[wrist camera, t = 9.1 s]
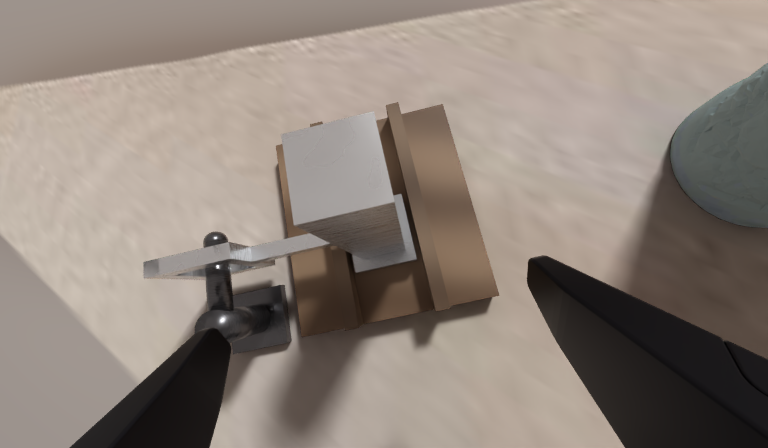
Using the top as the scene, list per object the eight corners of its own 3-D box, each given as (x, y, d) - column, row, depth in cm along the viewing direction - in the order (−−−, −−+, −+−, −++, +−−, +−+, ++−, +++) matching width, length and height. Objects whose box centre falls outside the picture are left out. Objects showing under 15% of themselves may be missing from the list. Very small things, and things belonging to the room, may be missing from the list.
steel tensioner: (416, 260, 17) (421, 224, 7) (213, 305, 18) (-59, 334, 7) (401, 198, 18) (386, 84, 8) (209, 243, 19) (-40, 194, 8)
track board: (493, 294, 18) (507, 296, 15) (308, 334, 18) (291, 341, 16) (440, 114, 20) (444, 90, 18) (283, 153, 21) (265, 135, 19)
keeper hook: (291, 340, 18) (249, 360, 14) (238, 351, 18) (179, 374, 14) (278, 236, 20) (236, 221, 15) (229, 247, 20) (174, 236, 15)
